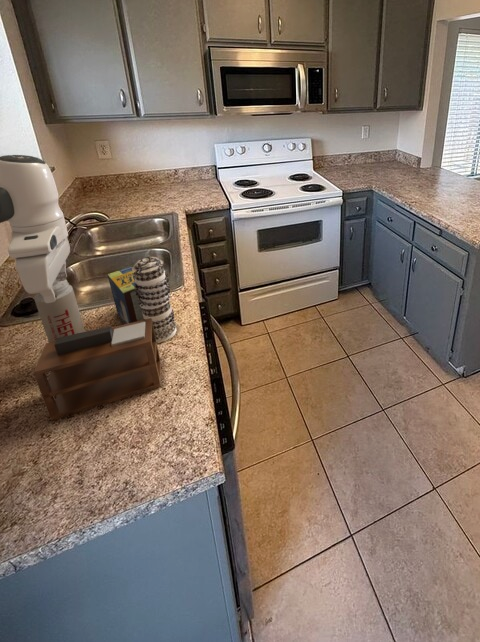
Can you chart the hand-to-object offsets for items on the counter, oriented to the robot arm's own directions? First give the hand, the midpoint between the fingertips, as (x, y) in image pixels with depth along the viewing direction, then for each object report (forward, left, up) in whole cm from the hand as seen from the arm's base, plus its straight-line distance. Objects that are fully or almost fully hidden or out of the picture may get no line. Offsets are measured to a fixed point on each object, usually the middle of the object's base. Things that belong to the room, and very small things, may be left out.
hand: (57, 289), depth 79 cm
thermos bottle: (-5, +13, -29) cm, 32 cm away
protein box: (+11, +27, -29) cm, 41 cm away
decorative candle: (+17, +16, -29) cm, 37 cm away
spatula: (+5, -1, -15) cm, 16 cm away
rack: (+5, -1, -29) cm, 30 cm away
